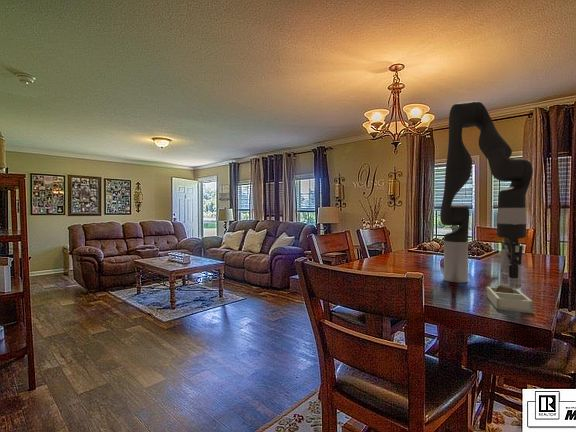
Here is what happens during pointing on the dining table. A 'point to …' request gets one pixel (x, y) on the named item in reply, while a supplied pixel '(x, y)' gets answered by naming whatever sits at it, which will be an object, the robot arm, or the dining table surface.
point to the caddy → (510, 300)
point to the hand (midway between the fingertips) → (510, 275)
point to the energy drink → (504, 273)
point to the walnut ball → (504, 290)
